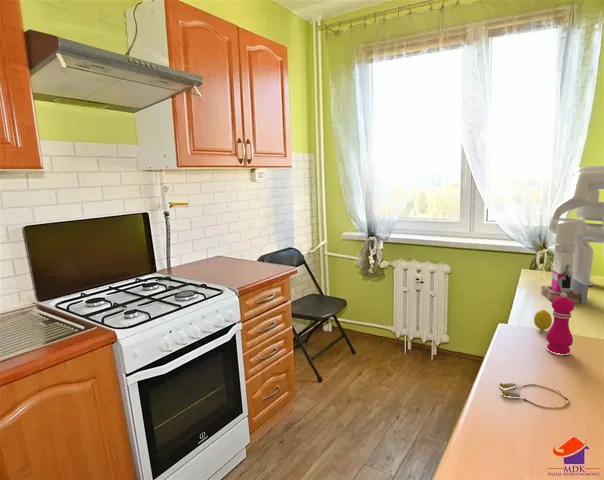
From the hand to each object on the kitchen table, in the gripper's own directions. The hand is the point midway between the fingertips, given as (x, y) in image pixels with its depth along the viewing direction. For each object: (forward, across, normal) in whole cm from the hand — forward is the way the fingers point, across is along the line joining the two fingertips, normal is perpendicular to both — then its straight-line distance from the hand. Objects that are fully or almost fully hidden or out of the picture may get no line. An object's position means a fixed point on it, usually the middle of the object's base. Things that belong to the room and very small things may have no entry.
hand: (561, 285), depth 178 cm
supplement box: (+5, 0, 0) cm, 6 cm away
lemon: (+7, +42, -21) cm, 47 cm away
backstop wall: (+6, -2, +7) cm, 10 cm away
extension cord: (+7, +89, -38) cm, 97 cm away
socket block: (+6, 0, 0) cm, 6 cm away
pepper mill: (+7, +60, -22) cm, 64 cm away
